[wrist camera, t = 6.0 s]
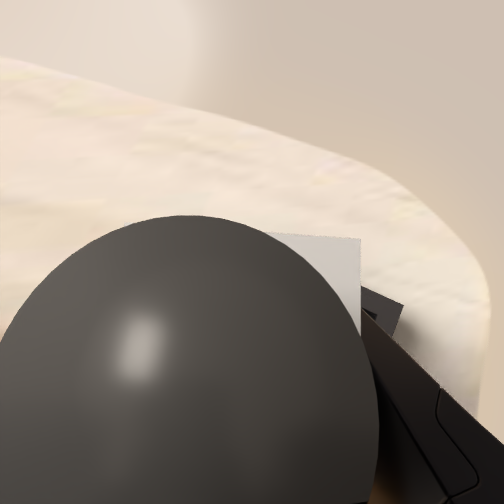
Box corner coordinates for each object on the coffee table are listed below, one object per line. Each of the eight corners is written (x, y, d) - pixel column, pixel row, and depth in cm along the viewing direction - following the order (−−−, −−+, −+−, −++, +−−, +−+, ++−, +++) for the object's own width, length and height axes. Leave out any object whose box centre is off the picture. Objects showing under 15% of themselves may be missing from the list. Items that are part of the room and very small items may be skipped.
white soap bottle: (296, 393, 14) (590, 998, 1) (193, 383, 14) (-303, 821, 2) (301, 289, 15) (487, 130, 3) (206, 282, 16) (-37, 103, 3)
